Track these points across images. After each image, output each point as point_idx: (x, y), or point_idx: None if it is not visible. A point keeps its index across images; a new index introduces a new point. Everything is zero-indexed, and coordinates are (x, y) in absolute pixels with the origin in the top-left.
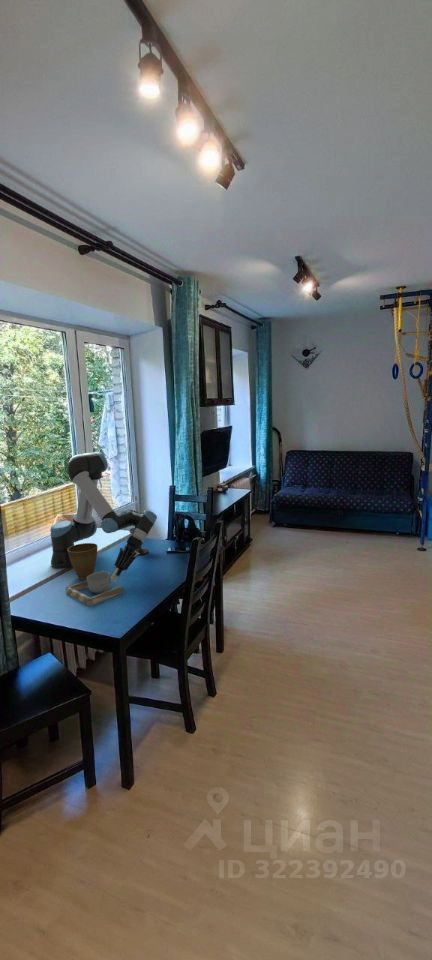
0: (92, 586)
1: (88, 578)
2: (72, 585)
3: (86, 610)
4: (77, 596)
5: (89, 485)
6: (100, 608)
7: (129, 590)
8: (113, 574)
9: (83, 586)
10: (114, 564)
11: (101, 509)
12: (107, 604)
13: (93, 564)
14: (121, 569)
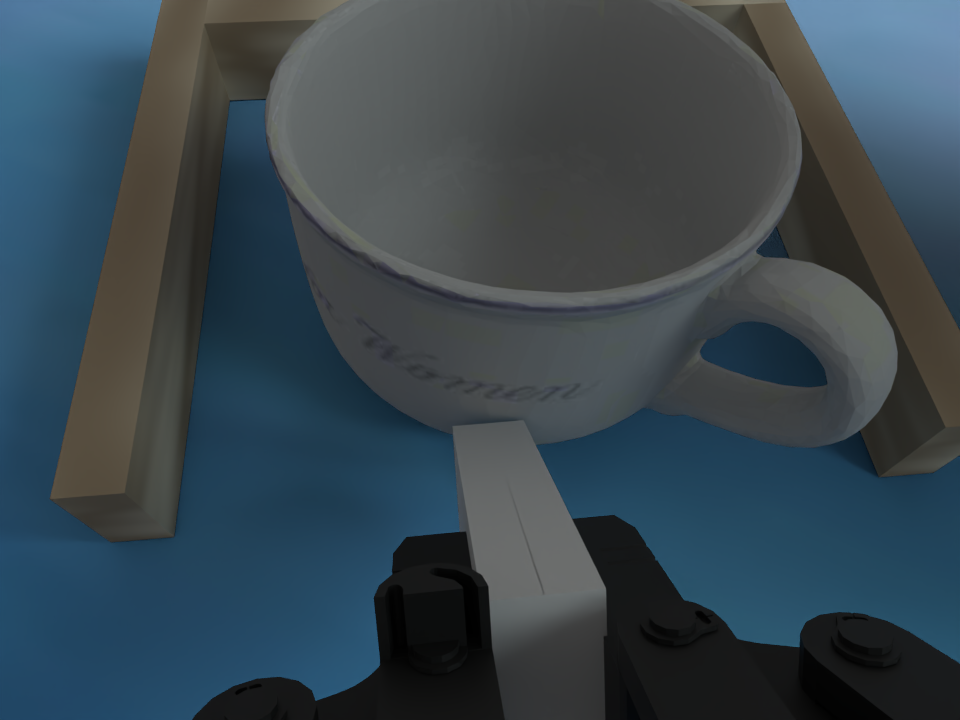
0: (428, 84)
1: (668, 51)
2: (795, 35)
3: (133, 24)
4: None
5: None
6: (16, 113)
7: (59, 697)
8: (510, 477)
9: None
10: (899, 629)
11: None
12: (14, 199)
13: None
14: (373, 703)
